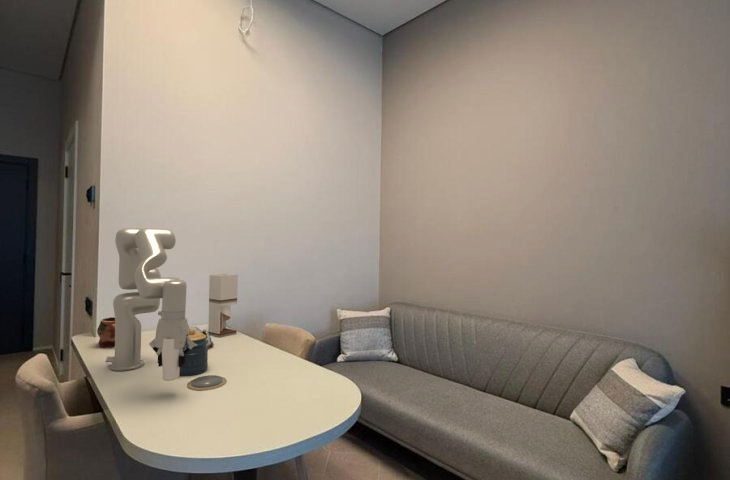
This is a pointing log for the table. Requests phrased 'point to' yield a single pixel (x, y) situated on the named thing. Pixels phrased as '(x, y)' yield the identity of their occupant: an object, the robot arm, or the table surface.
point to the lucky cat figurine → (204, 334)
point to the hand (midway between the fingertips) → (171, 365)
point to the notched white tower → (221, 303)
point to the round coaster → (206, 382)
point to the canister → (196, 355)
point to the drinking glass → (170, 360)
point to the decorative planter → (107, 332)
